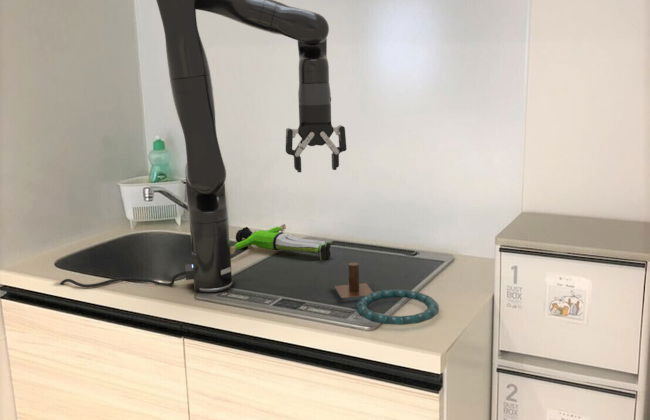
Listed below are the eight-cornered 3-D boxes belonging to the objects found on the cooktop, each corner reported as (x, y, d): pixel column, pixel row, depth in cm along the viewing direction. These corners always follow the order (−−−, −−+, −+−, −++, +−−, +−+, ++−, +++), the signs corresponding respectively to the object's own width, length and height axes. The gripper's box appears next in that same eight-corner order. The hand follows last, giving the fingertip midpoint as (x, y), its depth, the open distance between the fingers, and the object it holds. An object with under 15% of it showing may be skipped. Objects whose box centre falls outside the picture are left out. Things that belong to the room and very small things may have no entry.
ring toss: (341, 302, 157) (340, 270, 155) (333, 290, 164) (333, 260, 162) (375, 299, 158) (375, 267, 156) (366, 287, 166) (365, 257, 164)
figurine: (351, 248, 198) (266, 234, 213) (351, 227, 197) (266, 215, 212) (298, 277, 175) (207, 260, 190) (297, 254, 173) (205, 238, 188)
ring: (368, 333, 140) (368, 322, 139) (348, 302, 157) (347, 292, 156) (451, 324, 143) (451, 313, 143) (422, 294, 160) (422, 285, 160)
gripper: (340, 99, 165) (342, 166, 169) (282, 102, 162) (284, 169, 166) (348, 102, 158) (349, 171, 162) (286, 105, 155) (289, 175, 159)
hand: (316, 170), depth 164 cm, fingers open, 8 cm apart
